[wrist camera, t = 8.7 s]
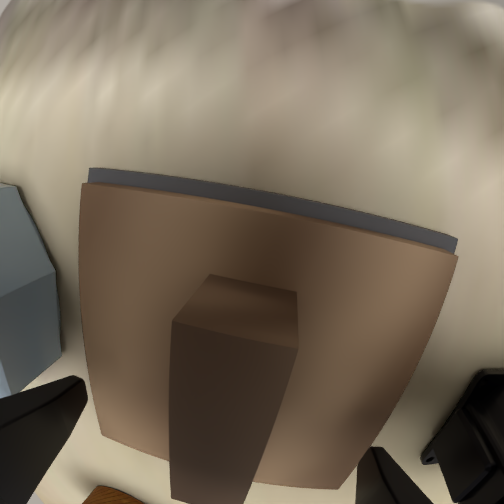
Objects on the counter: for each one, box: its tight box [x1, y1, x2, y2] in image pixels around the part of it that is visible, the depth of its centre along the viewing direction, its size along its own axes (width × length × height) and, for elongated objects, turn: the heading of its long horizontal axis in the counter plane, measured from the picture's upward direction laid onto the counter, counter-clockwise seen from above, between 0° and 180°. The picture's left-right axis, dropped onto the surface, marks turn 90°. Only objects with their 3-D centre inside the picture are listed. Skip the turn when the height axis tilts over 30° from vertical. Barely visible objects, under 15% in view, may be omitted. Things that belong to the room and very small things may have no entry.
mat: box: [88, 168, 458, 254], centre depth 11 cm, size 13×13×1 cm
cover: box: [79, 182, 458, 504], centre depth 8 cm, size 12×12×4 cm
